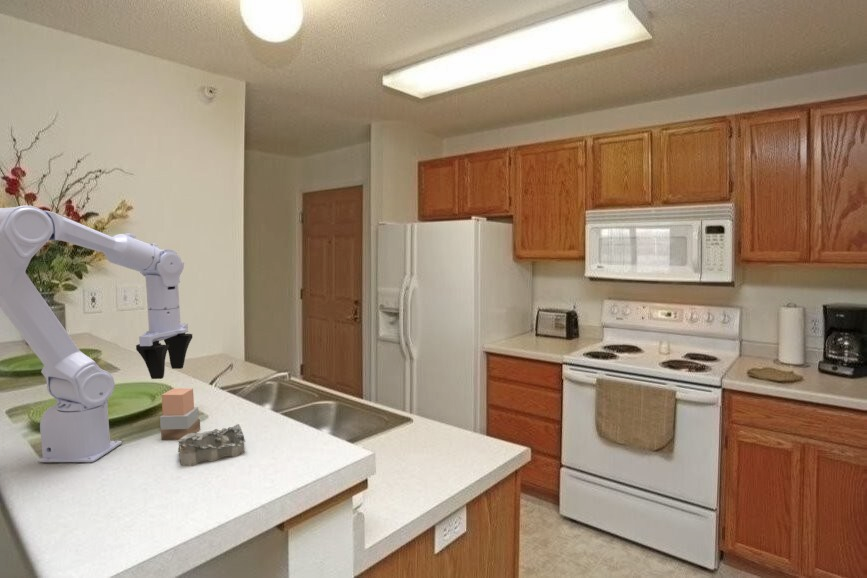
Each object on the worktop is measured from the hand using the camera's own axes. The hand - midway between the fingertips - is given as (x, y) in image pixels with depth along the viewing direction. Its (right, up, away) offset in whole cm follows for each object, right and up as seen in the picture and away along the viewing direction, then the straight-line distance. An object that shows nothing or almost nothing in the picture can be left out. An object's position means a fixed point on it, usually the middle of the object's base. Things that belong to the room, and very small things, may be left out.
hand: (167, 373), depth 101 cm
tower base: (+6, -11, -6) cm, 14 cm away
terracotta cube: (+5, -6, -6) cm, 10 cm away
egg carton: (+16, -12, -14) cm, 24 cm away
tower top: (+6, -9, -6) cm, 12 cm away
